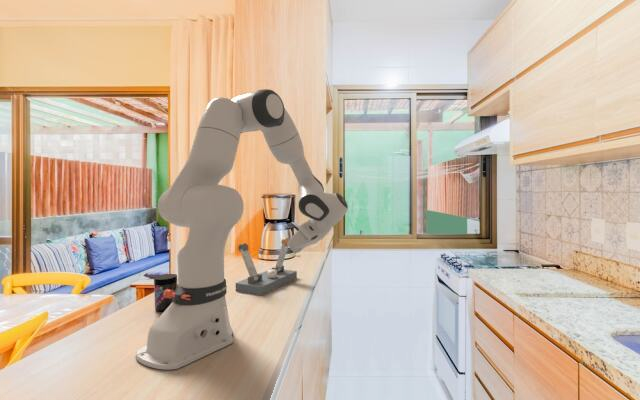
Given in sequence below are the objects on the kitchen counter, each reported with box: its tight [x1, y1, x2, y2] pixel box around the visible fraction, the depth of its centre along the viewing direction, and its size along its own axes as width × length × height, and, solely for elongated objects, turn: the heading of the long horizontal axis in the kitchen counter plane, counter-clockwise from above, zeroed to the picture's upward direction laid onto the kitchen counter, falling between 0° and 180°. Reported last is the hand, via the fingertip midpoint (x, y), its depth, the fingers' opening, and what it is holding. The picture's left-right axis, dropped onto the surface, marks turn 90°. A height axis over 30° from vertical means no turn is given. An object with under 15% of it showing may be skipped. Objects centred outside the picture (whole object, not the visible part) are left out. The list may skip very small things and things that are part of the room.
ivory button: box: [267, 268, 277, 278], centre depth 125 cm, size 4×4×3 cm
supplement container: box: [153, 273, 178, 313], centre depth 101 cm, size 7×7×10 cm
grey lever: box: [237, 242, 260, 282], centre depth 120 cm, size 3×3×15 cm
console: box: [235, 264, 298, 296], centre depth 126 cm, size 24×12×5 cm, turn 153°
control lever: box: [274, 237, 291, 272], centre depth 131 cm, size 3×3×15 cm
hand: (295, 251), depth 128 cm, fingers closed
